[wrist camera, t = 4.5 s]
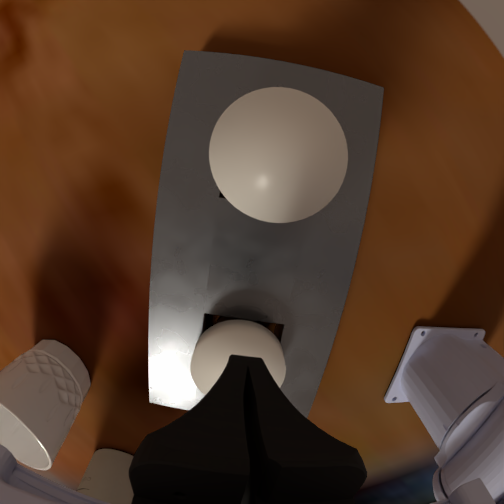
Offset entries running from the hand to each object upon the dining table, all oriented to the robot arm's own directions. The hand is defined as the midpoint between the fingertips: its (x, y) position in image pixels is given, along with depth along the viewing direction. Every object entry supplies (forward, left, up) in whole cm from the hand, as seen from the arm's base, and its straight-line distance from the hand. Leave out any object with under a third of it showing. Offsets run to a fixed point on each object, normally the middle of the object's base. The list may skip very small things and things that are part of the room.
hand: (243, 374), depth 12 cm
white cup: (+16, +11, -10) cm, 22 cm away
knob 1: (0, -9, -7) cm, 11 cm away
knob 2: (0, +3, -9) cm, 10 cm away
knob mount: (0, -3, -9) cm, 10 cm away
